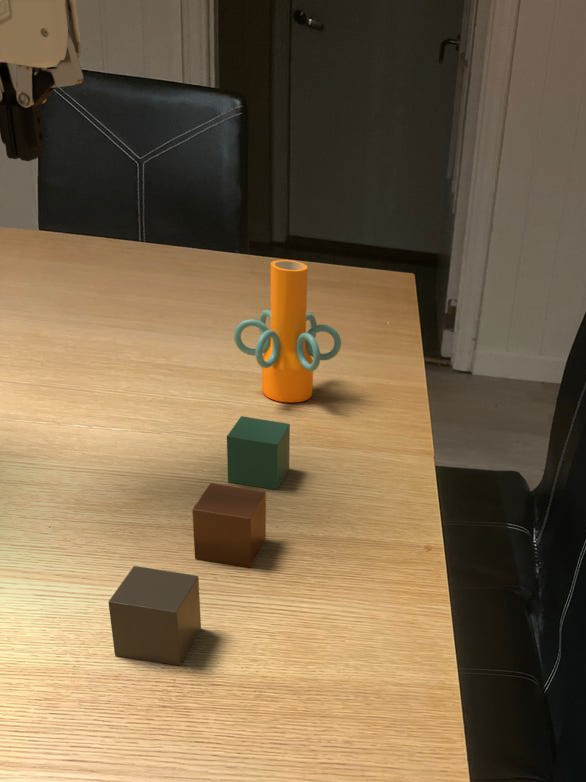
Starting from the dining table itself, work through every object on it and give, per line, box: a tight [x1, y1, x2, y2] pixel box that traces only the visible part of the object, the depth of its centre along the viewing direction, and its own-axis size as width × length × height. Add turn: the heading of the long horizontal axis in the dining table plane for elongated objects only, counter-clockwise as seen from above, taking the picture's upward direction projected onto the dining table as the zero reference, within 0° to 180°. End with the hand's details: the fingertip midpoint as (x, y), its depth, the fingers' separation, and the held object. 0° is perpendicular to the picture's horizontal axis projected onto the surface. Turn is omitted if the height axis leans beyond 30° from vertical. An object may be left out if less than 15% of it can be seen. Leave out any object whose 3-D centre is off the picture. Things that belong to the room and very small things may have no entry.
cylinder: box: [233, 259, 342, 403], centre depth 109 cm, size 12×10×15 cm
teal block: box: [226, 416, 291, 490], centre depth 95 cm, size 5×5×5 cm
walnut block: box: [191, 482, 267, 569], centre depth 83 cm, size 5×5×5 cm
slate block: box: [107, 565, 202, 667], centre depth 71 cm, size 5×5×5 cm
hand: (25, 156), depth 79 cm, fingers closed
